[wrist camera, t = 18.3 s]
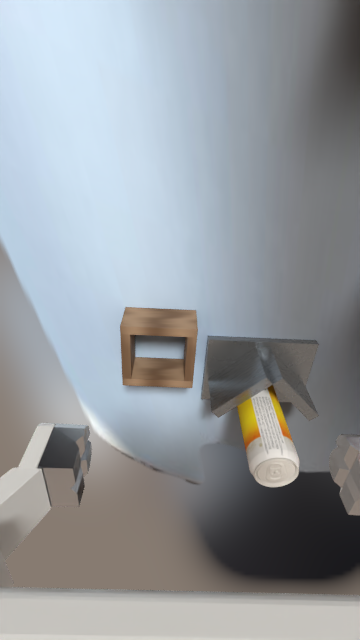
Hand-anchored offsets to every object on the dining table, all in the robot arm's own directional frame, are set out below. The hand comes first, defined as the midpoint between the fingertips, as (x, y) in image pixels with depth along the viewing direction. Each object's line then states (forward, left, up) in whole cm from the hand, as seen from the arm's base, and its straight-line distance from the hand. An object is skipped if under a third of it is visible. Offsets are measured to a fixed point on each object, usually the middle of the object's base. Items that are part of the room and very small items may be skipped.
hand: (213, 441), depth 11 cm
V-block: (-12, +24, -34) cm, 43 cm away
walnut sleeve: (+3, +19, -34) cm, 39 cm away
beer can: (-12, +27, -33) cm, 44 cm away
